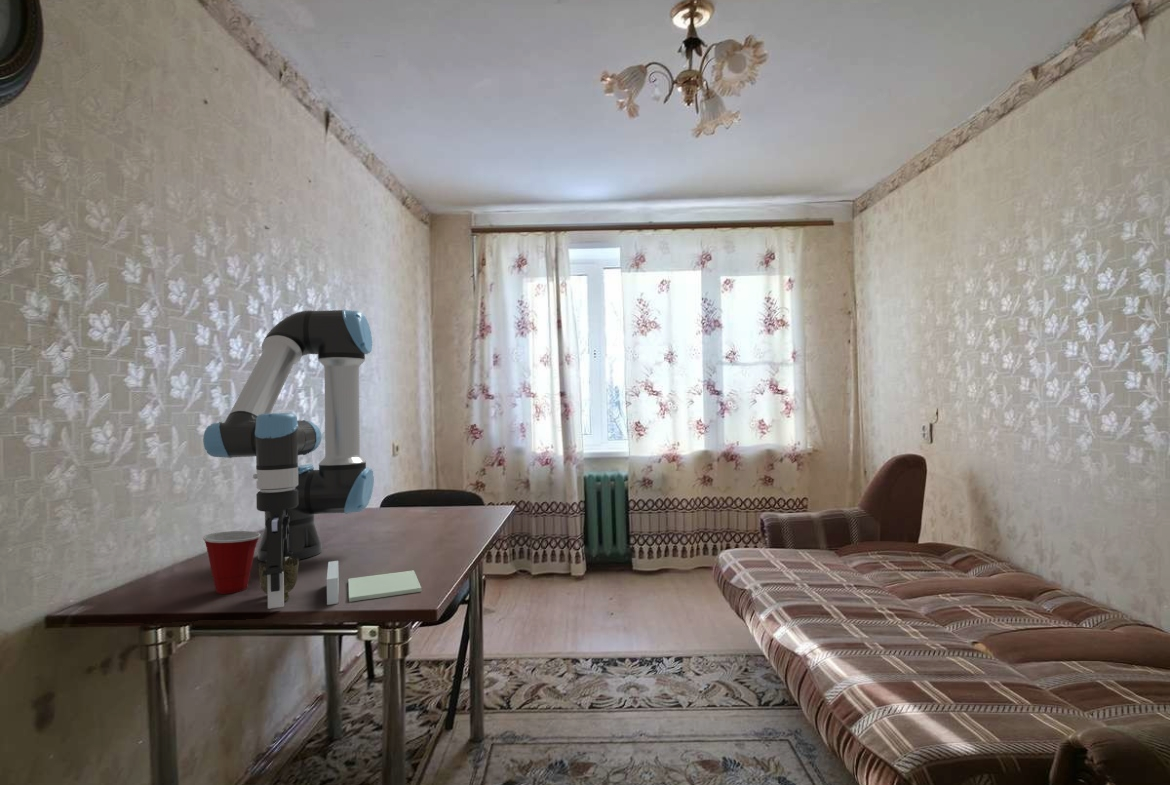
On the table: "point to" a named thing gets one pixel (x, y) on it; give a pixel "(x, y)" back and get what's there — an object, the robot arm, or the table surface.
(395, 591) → the green pad
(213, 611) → the table surface
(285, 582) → the cup
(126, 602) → the table surface
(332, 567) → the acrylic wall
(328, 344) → the robot arm
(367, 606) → the table surface
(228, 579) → the plastic cup
